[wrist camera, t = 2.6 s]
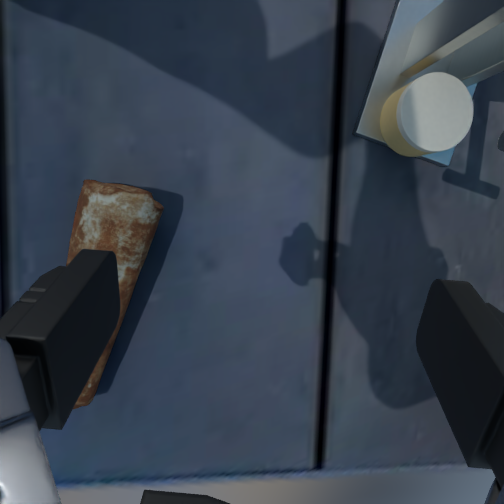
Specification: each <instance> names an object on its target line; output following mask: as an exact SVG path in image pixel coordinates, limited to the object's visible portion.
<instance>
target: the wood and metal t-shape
mask: <svg viewBox="0 0 504 504" xmlns="http://www.w3.org/2000/svg"><path fill="white" fill-rule="evenodd" d="M497 146H498V149H499V150H501V151H503V152H504V131H503V132H502V134H501V135H500V137H499V140H498V144H497Z"/></svg>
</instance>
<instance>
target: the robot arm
mask: <svg viewBox="0 0 504 504" xmlns="http://www.w3.org/2000/svg"><path fill="white" fill-rule="evenodd" d="M119 316H120V292H119V280H118V268H117V258H116V255H115V253H114V252H113V251H105V250H93V249H82V250H81V251H80V252H79V253H78V254H77V255H76V256H75V257H74V258H73V260H72V261H71V262H70V263H69V264H68V265H67V266H66V267H65V266H59V267H57V268H55V269H53V270H51V271H49V272H47V273H46V274H44V275H42V276H40V278H39V279H38V280H37V281H36V282H35V283H34V284H33V285H32V286H31V287H30V288H29V291H26V292H25V293H24V294H23V295H22V297H21V298H20V300H19V301H17V302H16V303H15V304H14V305H13V306H12V307H11V308H10V309H9V310H8V311H7V312H6V313H5V314H4V316H3V317H2V318H1V319H0V504H61V501H60V498H59V495H58V491H57V488H56V485H55V482H54V478H53V475H52V472H51V469H50V465H49V462H48V459H47V455H46V452H45V449H44V446H43V442H42V439H41V436H40V433H39V431H40V430H41V428H47V429H59V430H62V428H63V426H64V424H65V423H66V421H67V419H68V417H69V415H70V413H71V411H72V409H73V408H74V406H75V404H76V402H77V400H78V398H79V396H80V394H81V393H82V391H83V389H84V387H85V385H86V383H87V381H88V379H89V377H90V376H91V374H92V372H93V370H94V368H95V366H96V364H97V362H98V361H99V359H100V357H101V355H102V353H103V351H104V349H105V347H106V345H107V344H108V342H109V340H110V338H111V336H112V334H113V332H114V330H115V329H116V326H117V324H118V320H119ZM416 346H417V351H418V354H419V357H420V359H421V361H422V364H423V366H424V368H425V370H426V373H427V375H428V377H429V380H430V382H431V384H432V386H433V389H434V391H435V393H436V395H437V398H438V400H439V402H440V404H441V407H442V409H443V411H444V413H445V416H446V418H447V420H448V422H449V425H450V427H451V429H452V432H453V434H454V436H455V438H456V441H457V443H458V445H459V447H460V450H461V452H462V454H463V456H464V459H465V461H466V463H467V465H468V467H473V468H484V469H492V471H493V473H494V474H495V477H496V478H495V480H494V482H493V484H492V486H491V488H490V490H489V493H488V496H487V498H486V501H485V504H504V313H502V312H501V311H499V310H498V309H497V308H495V307H494V306H492V305H491V304H490V303H485V302H484V301H483V299H482V298H481V297H480V295H479V294H478V293H477V292H476V290H475V289H474V288H473V286H472V285H471V284H470V283H469V282H465V281H454V280H442V279H436V280H434V281H433V283H432V284H431V287H430V290H429V293H428V296H427V299H426V303H425V306H424V309H423V313H422V316H421V319H420V323H419V326H418V329H417V335H416ZM140 504H230V503H227V502H224V501H221V500H219V499H216V498H213V497H210V496H207V495H198V494H186V493H175V492H164V491H153V490H144V492H143V496H142V499H141V503H140Z"/></svg>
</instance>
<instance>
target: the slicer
mask: <svg viewBox="0 0 504 504" xmlns="http://www.w3.org/2000/svg"><path fill="white" fill-rule="evenodd" d="M503 71H504V0H396V3H395V6H394V9H393V12H392V15H391V18H390V22H389V25H388V28H387V31H386V34H385V37H384V40H383V43H382V46H381V49H380V52H379V55H378V58H377V61H376V64H375V67H374V70H373V73H372V76H371V79H370V82H369V85H368V88H367V91H366V94H365V98H364V101H363V104H362V107H361V110H360V113H359V116H358V119H357V122H356V125H355V128H354V131H353V135H356V136H359V137H361V138H364V139H367V140H370V141H372V142H375V143H378V144H381V145H383V146H386V147H389V146H388V145H387V143H386V142H385V140H384V138H383V136H382V133H381V129H380V115H381V111H382V108H383V106H384V104H385V102H386V101H387V99H388V98H389V97H390V96H391V95H392V94H393V93H394V92H395V91H397V90H399V89H400V88H402V87H404V86H405V85H407V84H409V83H411V82H412V81H414V80H416V79H418V78H419V77H421V76H423V75H425V74H428V73H433V72H442V73H447V74H450V75H452V76H454V77H456V78H458V79H459V80H460V81H461V82H462V83H463V84H464V85H465V86H466V88H467V89H468V91H469V93H470V95H471V98H472V97H473V94H474V92H475V89H476V86H477V83H478V82H480V81H482V80H484V79H487V78H489V77H491V76H493V75H496V74H498V73H500V72H503ZM389 148H390V147H389ZM454 149H455V146H454V147H452V148H450V149H448V150H445V151H440V152H436V153H431V154H427V155H422V156H417V158H419V159H422V160H425V161H428V162H431V163H433V164H436V165H439V166H442V167H445V166H449V164H450V161H451V158H452V155H453V152H454Z"/></svg>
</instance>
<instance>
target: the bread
mask: <svg viewBox="0 0 504 504" xmlns="http://www.w3.org/2000/svg"><path fill="white" fill-rule="evenodd" d="M163 209H164V207H163V206H162V205H161V204H160V203H159V202H157V201H155V200H154V199H153V196H152V193H150V192H148V191H146V190H143V189H140V188H137V187H134V186H127V185H123V184H113V183H102V182H98V181H95V180H84V184H83V187H82V190H81V193H80V196H79V199H78V204H77V209H76V212H75V217H74V224H73V229H72V235H71V239H70V246H69V252H68V259H67V263H66V266H67V265H68V264H69V263H70V262H71V261H72V260H73V258H74V257H75V256H76V255H77V254H78V253H79V252H80V251H81V250H82V249H93V250H105V251H113V252H114V253H115V255H116V258H117V268H118V280H119V292H120V316H119V320H118V324H117V326H116V329H115V330H114V332H113V334H112V336H111V338H110V340H109V342H108V344H107V345H106V347H105V349H104V351H103V353H102V355H101V357H100V359H99V361H98V362H97V364H96V366H95V368H94V370H93V372H92V374H91V376H90V377H89V379H88V381H87V383H86V385H85V387H84V389H83V391H82V393H81V394H80V396H79V398H78V400H77V402H76V404H75V406H74V408H73V409H76V408H79V407H81V406H86V405H89V404H90V403H91V401H92V400H93V398H94V395H95V393H96V391H97V388H98V385H99V382H100V379H101V376H102V373H103V371H104V368H105V365H106V363H107V360H108V358H109V355H110V352H111V350H112V347H113V344H114V342H115V339H116V336H117V334H118V331H119V329H120V326H121V324H122V321H123V318H124V316H125V313H126V310H127V307H128V305H129V302H130V299H131V297H132V293H133V290H134V287H135V284H136V281H137V278H138V276H139V273H140V271H141V269H142V266H143V264H144V261H145V259H146V257H147V254H148V251H149V248H150V245H151V242H152V240H153V237H154V235H155V232H156V229H157V226H158V222H159V220H160V217H161V214H162V212H163Z"/></svg>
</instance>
